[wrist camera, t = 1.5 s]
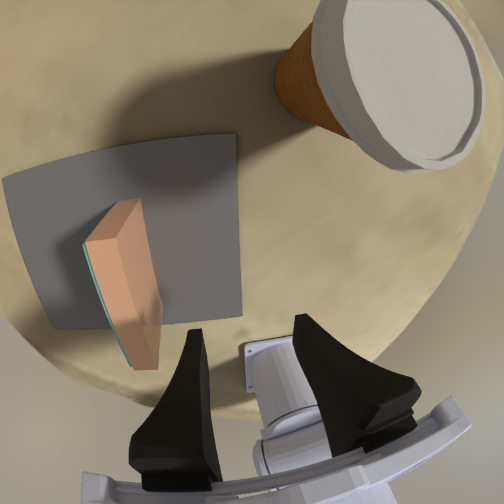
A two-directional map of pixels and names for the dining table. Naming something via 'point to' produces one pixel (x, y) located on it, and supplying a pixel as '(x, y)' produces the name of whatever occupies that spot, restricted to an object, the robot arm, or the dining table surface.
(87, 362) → the dining table surface
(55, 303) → the rubber mat
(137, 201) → the terracotta tile
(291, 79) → the disposable coffee cup
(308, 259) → the dining table surface
